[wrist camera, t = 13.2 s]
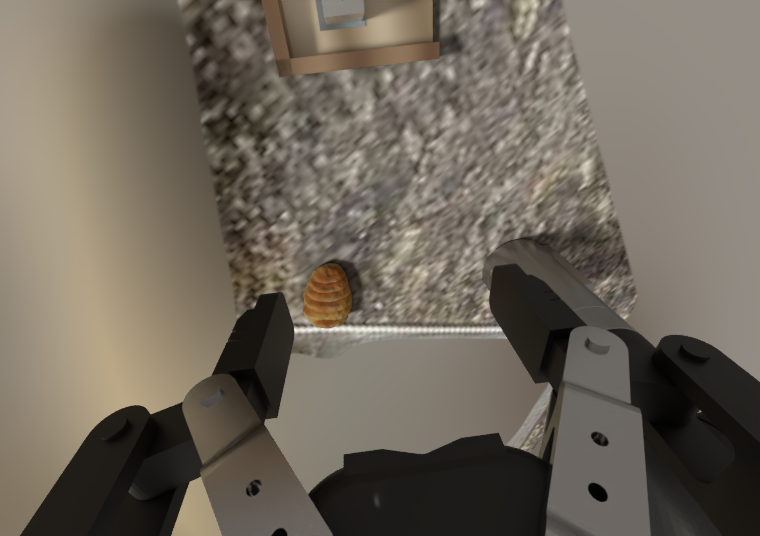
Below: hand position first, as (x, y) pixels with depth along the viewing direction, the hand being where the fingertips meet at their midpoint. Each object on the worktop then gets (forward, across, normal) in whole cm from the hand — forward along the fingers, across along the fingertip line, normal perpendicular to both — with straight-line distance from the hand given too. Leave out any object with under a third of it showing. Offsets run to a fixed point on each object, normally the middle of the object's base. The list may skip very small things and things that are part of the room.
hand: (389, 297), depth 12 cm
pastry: (+27, +7, +18) cm, 33 cm away
